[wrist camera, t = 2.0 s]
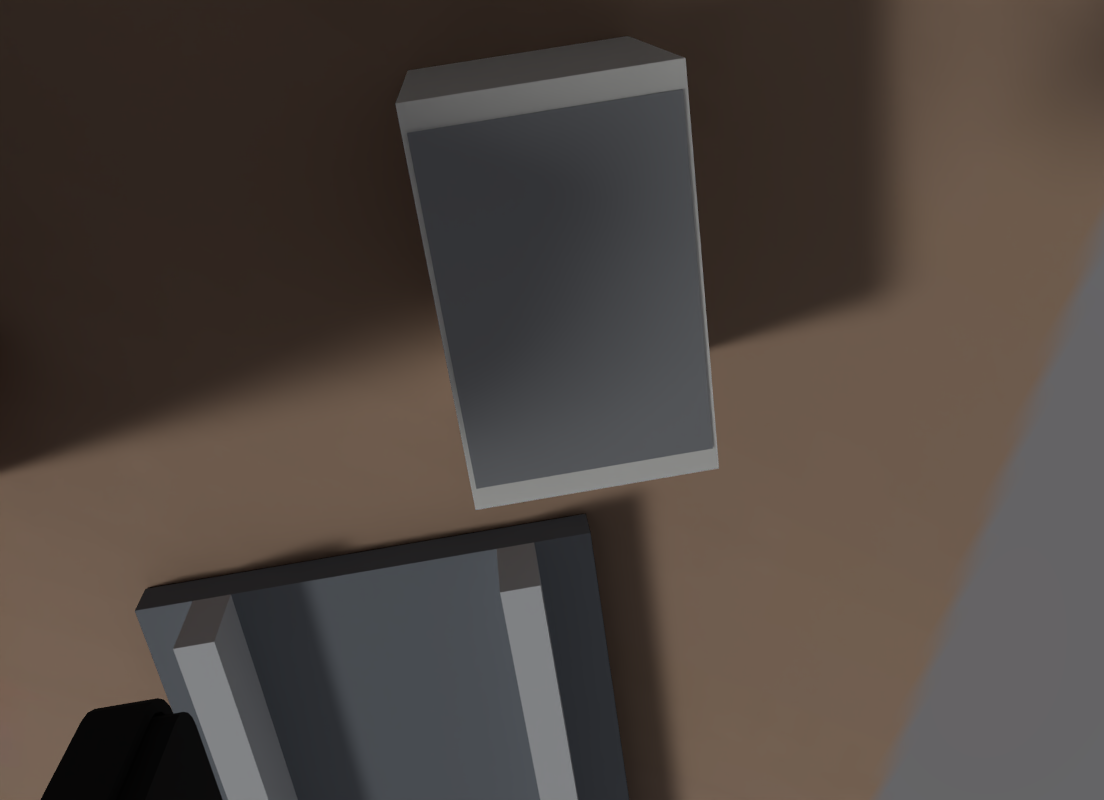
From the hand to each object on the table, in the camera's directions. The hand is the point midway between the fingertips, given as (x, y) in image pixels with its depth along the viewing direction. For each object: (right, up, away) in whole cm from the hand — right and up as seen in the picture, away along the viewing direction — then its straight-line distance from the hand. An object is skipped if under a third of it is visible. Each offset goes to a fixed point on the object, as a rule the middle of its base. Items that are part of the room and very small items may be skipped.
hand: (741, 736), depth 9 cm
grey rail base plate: (-6, -7, +21) cm, 23 cm away
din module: (-2, +7, +15) cm, 17 cm away
